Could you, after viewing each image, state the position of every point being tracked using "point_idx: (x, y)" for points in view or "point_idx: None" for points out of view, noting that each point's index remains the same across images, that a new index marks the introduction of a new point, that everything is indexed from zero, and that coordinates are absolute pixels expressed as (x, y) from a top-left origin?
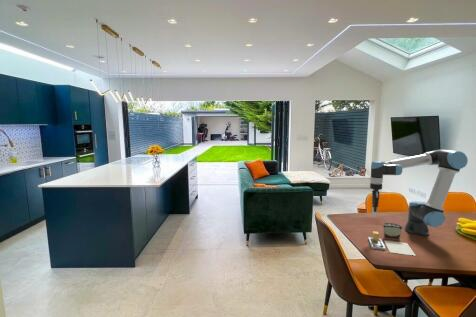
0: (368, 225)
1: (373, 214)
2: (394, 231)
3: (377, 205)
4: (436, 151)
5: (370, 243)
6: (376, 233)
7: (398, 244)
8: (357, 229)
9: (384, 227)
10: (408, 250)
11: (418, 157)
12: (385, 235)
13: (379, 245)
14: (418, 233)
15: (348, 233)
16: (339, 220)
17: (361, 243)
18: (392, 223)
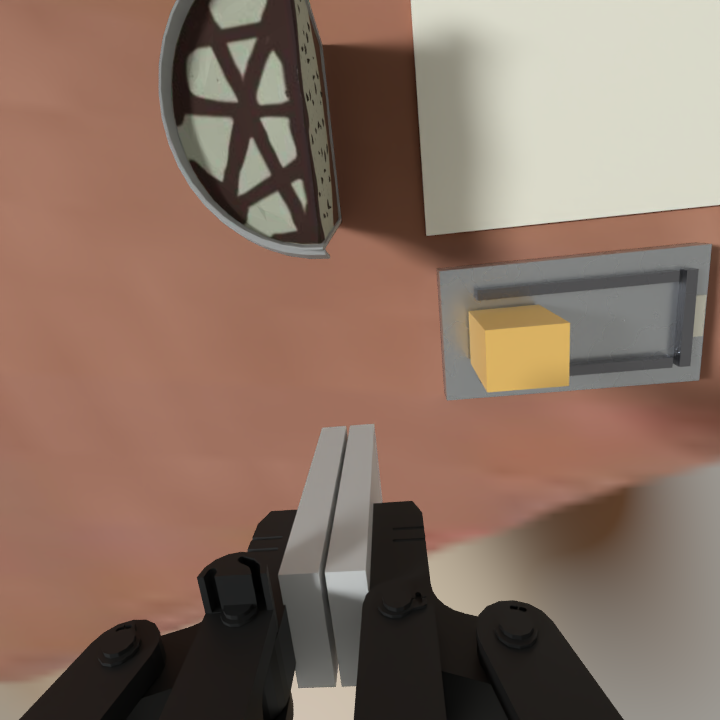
0: (9, 365)
1: (380, 502)
2: (312, 85)
3: (597, 702)
4: None
5: (607, 385)
6: (562, 353)
7: (491, 76)
8: (205, 477)
9: (324, 232)
10: None
11: None
12: (334, 211)
13: (688, 308)
14: None
15: None
16: (33, 626)
17: (580, 455)
18: (163, 86)
